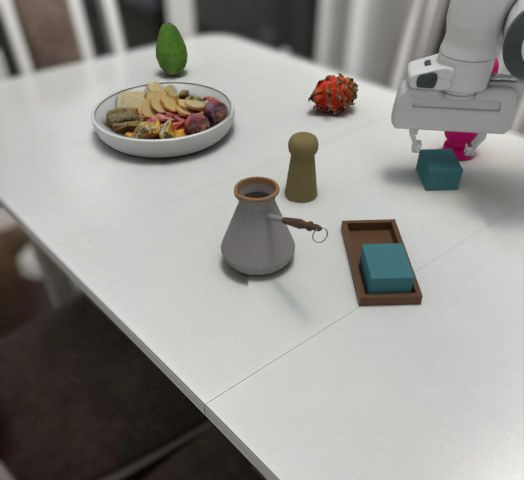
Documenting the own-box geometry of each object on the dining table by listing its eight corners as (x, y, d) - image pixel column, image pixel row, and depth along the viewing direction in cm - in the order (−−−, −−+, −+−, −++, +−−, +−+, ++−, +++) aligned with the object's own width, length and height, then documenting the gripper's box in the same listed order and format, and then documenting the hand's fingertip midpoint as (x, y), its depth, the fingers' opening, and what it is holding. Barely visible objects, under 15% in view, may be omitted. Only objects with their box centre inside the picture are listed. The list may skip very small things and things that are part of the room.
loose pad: (446, 168, 103) (451, 148, 100) (457, 189, 97) (463, 169, 94) (415, 169, 103) (419, 149, 100) (425, 190, 97) (430, 170, 94)
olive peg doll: (278, 190, 98) (279, 132, 90) (306, 182, 100) (309, 124, 92) (294, 206, 94) (297, 146, 86) (323, 197, 96) (328, 138, 88)
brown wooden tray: (392, 230, 89) (394, 218, 87) (419, 308, 76) (422, 296, 74) (340, 232, 89) (341, 220, 87) (358, 310, 75) (360, 298, 74)
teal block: (397, 264, 81) (402, 243, 78) (409, 299, 76) (414, 277, 73) (358, 265, 81) (362, 244, 78) (367, 300, 76) (371, 278, 73)
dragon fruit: (360, 116, 123) (311, 129, 122) (348, 83, 123) (300, 96, 123) (368, 94, 114) (315, 109, 114) (356, 59, 115) (303, 73, 114)
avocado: (170, 82, 133) (163, 29, 125) (153, 74, 137) (145, 22, 129) (195, 74, 137) (190, 22, 128) (177, 66, 141) (171, 15, 132)
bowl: (69, 153, 108) (58, 115, 102) (135, 96, 128) (129, 61, 122) (205, 174, 102) (202, 134, 96) (253, 111, 121) (252, 74, 116)
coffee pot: (209, 254, 85) (200, 166, 74) (270, 232, 89) (270, 146, 78) (280, 335, 72) (282, 244, 61) (347, 305, 76) (360, 215, 65)
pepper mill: (437, 158, 105) (464, 48, 91) (441, 142, 110) (467, 35, 95) (475, 164, 104) (509, 52, 89) (477, 147, 108) (510, 39, 94)
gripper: (524, 67, 87) (497, 148, 97) (399, 62, 89) (385, 141, 99) (533, 82, 83) (503, 164, 93) (400, 76, 85) (386, 157, 95)
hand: (441, 152), depth 96 cm, fingers open, 8 cm apart
